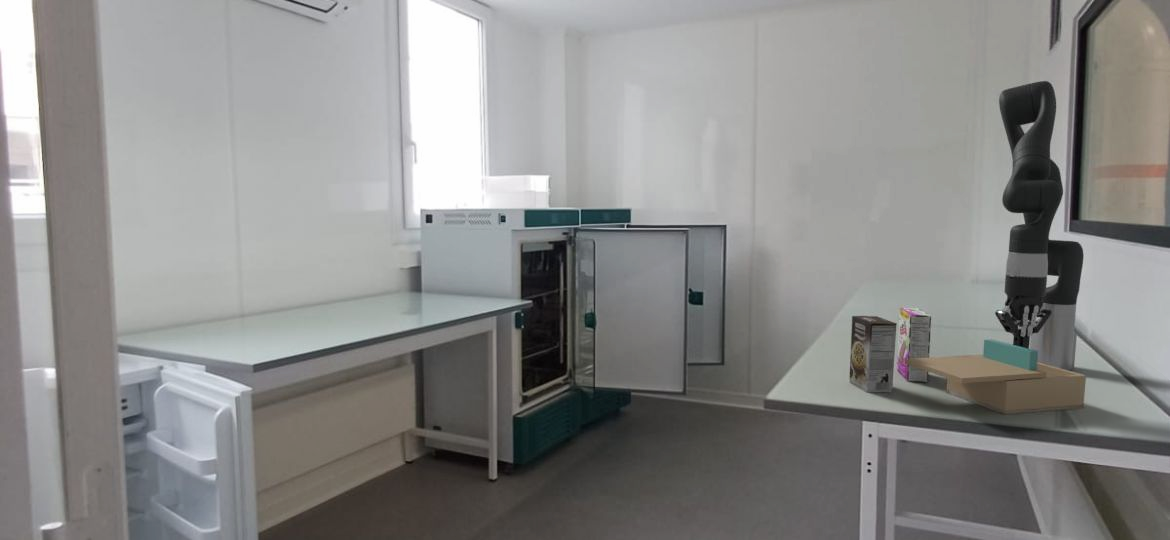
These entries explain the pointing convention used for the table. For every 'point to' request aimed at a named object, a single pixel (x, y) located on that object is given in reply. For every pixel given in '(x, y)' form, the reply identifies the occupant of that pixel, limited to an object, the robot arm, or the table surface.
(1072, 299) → the robot arm
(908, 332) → the candy bar box
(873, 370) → the brown upright rectangular box
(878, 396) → the table surface
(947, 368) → the lid
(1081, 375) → the mailer box
